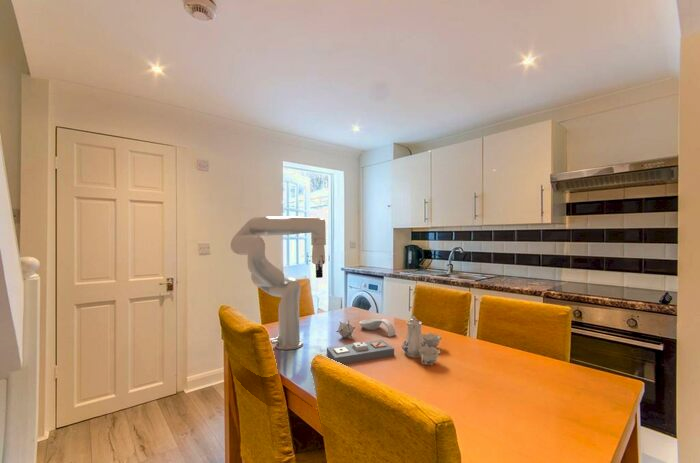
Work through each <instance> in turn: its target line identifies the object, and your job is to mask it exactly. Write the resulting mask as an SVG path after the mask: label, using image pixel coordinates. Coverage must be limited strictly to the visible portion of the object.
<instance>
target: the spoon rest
mask: <svg viewBox="0 0 700 463" xmlns="http://www.w3.org/2000/svg"><path fill="white" fill-rule="evenodd" d="M381 324H384V325H385V326H386V329H387V335H388V337H394V336H396V335H397V333H396V329H395V327H394V325H393V323H392V322H390V321H389V320H388V319H386V318H383V319H377V318H376V319H374V318H372V319H371V318H370V319H363V320H361V321H359V325H360V326H361V328H363V329H365V330H367V331H374V330H377V329H378V328H379V327H380V326H381Z"/></svg>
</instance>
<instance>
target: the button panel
mask: <svg viewBox="0 0 700 463" xmlns="http://www.w3.org/2000/svg"><path fill="white" fill-rule="evenodd" d="M363 342H364V341H363ZM375 342H382V343H384V344H385V345H386V347H382V348H374V347H373V346H371V343H375ZM364 343H366V344H367V345H368V350H362V351H355V350H354V349H353V343H349V344H344V345H337V346H331V347H330V346H329V347H326V355H327V357H328V358H329V359H330V358H331V359H333V360H335V361H337V362H340V363H342V364H341V365H347V364H351V363H357V362H358V363H359V362H364V361H370V360H376V359H382V358H388V357H393V356H395V347H393V346H391V344H388V343H387V342H386V341H384V340H383V339H377V340H372V341H365V342H364ZM341 347H345V348H346V349H347V350H348V351H349V353H343V354H336V353H335V352H334V349H335V348H341ZM331 359H330V360H331Z"/></svg>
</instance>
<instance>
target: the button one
mask: <svg viewBox="0 0 700 463" xmlns="http://www.w3.org/2000/svg"><path fill="white" fill-rule="evenodd" d="M334 352H335V353H336V354H343V353H349V351H348V350H347V349H346V348H345V347H341V348H335V349H334Z"/></svg>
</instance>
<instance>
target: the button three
mask: <svg viewBox="0 0 700 463" xmlns="http://www.w3.org/2000/svg"><path fill="white" fill-rule="evenodd" d="M371 346H373V347H374V348H382V347H386V345H385V344H384V343H382V342H375V343H371Z"/></svg>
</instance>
